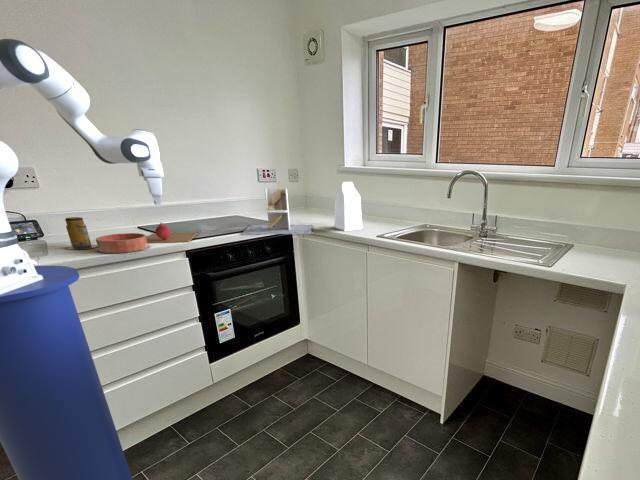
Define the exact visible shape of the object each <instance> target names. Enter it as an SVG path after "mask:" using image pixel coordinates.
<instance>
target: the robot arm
mask: <svg viewBox="0 0 640 480" xmlns="http://www.w3.org/2000/svg"><path fill="white" fill-rule="evenodd" d="M25 86H31V87H32V88H33V89H34V91H36V92H37V93H38V94H39V95H41V96H42V97H43V98H44V99H45V100H46V101H47V102H48V103H50V105H51V106H53V107H54V108H55V109H56V112H57V114H58V115H59V116H60V117H61V119H63V121H64V122H65V123H66V124H67V125H68V126H69V127H70V128H71V129H72V130H73V131H74V132H75V133H76V134H77V135H78V136H79V137H80V138H82V139H83V141H85V143H86V144H87V145H88V146H89V147H90V149H91V150H92V152H93V153H94V154H95V156H96V158H98V160H100V161H101V162H103V163H105V164H109V165H111V164H112V165H115V164H136V168H137V172H138V177H142V178H143V181H146V183H147V189H148V193H149V194H150V195H151V197H152V199H153V204H154V205H155V206H156V207H157V208H161V207H162V202H161V201H162V200H161V197H162V196H163V184H162V178H163V177H165V173H164V169H163V164H162V162H161V159H160V158H161V153H160V148H159V144H158V141H157V138H156V136H155V134H154V133H152V132H151V131H148V130H145V129H141V128H134V129H132V130H131V132H129V133H127V134H126V135H122V136H109V135H106V134H103V133H102V132H101V131H100V130H99V129H98V128H97V127H96V126H95V125H94V124H93V123H92V122H91V121H90V120H89V119H88V118H87V116H86V115H85V114H86V113H87V112H88V110H89V109H90V106H91V99H90V95H89V94H88V92H87V90H86V89H85V88H84V87H83V86H82V85H81V84H80V83H79V81H77V80H76V79H75V78H74V77H73V76H72V75H71V73H69V72H67V70H66V69H64V68H63V67H62V66H61V65H60V64H58V63H57V62H56V61H55V60H53V59H52V58H51V57H50V56H48V55H47V54H46V53H44V52H42V50H39V49H36V48H34V47H33V46H31V45H30V44H28V43H26V42H24V41H22V40H19V39H14V38H1V39H0V89H9V88H20V87H25ZM19 165H20V164H19V159H18V157H17V155H16V152H14V150H13V149H12V148H11V147H10V146H9V145H8V144H6V143H5V142H4V141H1V140H0V294H3V293H6V292H9V291H11V290H14V289H17V288H20V287H22V286H25V285H28V284H31V283H33V282H36V281H39V280H42V279H43V277H42V275H38V274H37V273H36V270H35V268H34V266H35V265H37V261H35V260H33V259H31V258H30V256H29V254H28V252H27V251H25V250H24V249H22V248H21V246H19V244H18V243H19V239H18V236H17V234H16V232H15V230H13V229H12V226H11V225H10V222H9V218H8V215H7V212H6V208H5V203H4V193H5V189H6V185H7V184H8V182H9V181H10V180H11V179H12V178H13V177H14V176H16V174H17V173H18V171H19ZM34 264H35V265H34Z"/></svg>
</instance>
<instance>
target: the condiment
mask: <svg viewBox="0 0 640 480" xmlns="http://www.w3.org/2000/svg"><path fill="white" fill-rule="evenodd" d="M64 221H65V224H66V225H65V227H66V231H67V234H68V238H69V242H70V244H71V246H69V247H67V249H69V250H90V249H95V248H98V245H97V244H96V245H93V244H92V243H91V238H90V235H89V231H88V228H87V225H86V224H85V222H84V218H83V217H82V216H81V217H80V216H73V217H72V216H71V217H65V219H64Z"/></svg>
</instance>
